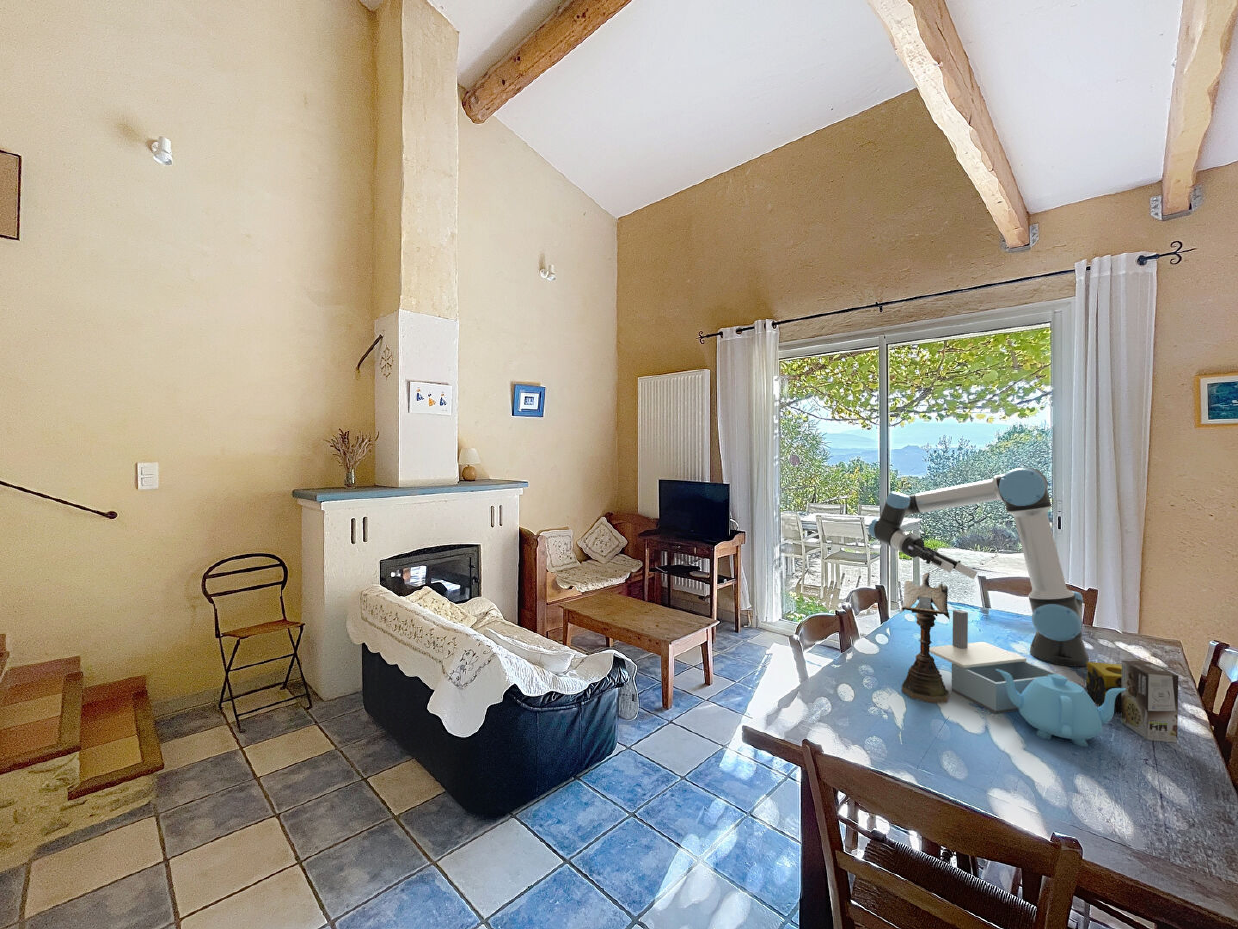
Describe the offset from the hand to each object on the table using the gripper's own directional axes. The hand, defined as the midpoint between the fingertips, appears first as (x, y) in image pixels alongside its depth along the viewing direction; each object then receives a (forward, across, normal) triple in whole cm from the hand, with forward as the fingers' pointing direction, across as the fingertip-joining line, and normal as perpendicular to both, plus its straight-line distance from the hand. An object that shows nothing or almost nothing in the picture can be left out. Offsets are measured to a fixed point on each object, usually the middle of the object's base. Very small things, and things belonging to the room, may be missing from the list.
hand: (963, 572), depth 173 cm
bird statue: (+20, +25, -33) cm, 47 cm away
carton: (+29, +7, -25) cm, 39 cm away
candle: (+43, -14, -15) cm, 48 cm away
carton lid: (+17, +7, -20) cm, 27 cm away
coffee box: (+53, -3, -15) cm, 56 cm away
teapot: (+45, +16, -23) cm, 53 cm away
